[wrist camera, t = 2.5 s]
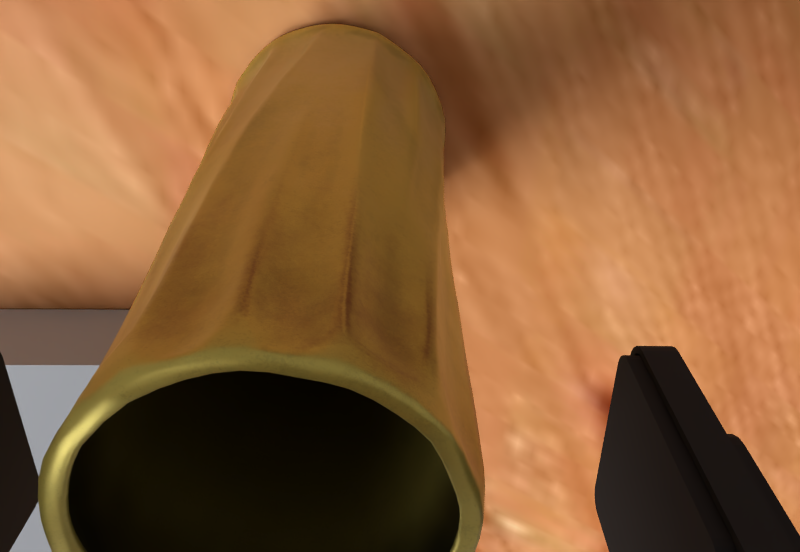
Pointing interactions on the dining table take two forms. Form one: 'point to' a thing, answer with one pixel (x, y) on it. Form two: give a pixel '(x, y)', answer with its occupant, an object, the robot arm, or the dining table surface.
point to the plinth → (51, 377)
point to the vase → (289, 335)
